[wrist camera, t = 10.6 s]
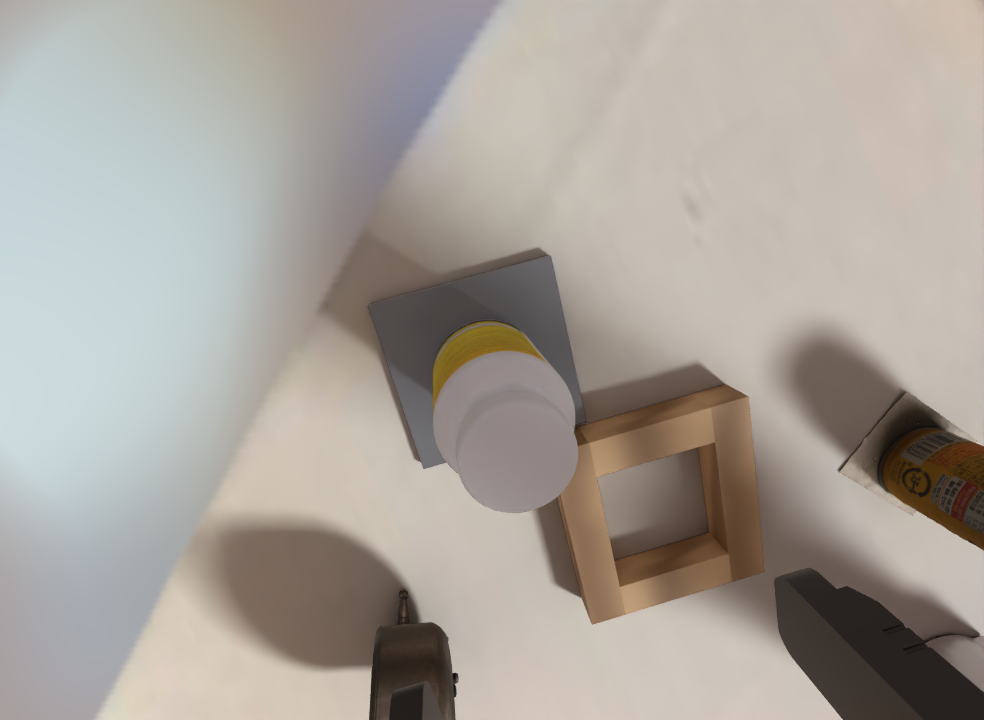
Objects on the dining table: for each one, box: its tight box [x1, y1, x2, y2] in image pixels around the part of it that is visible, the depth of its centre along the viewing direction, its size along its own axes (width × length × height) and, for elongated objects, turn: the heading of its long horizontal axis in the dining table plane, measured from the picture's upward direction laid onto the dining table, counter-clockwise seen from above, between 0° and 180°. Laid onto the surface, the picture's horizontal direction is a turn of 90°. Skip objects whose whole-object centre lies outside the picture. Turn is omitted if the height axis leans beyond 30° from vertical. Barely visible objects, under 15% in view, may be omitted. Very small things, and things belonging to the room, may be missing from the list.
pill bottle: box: [433, 319, 578, 513], centre depth 23 cm, size 6×6×12 cm
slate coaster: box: [368, 255, 586, 469], centre depth 29 cm, size 11×11×1 cm
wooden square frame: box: [557, 384, 765, 625], centre depth 32 cm, size 13×14×2 cm
